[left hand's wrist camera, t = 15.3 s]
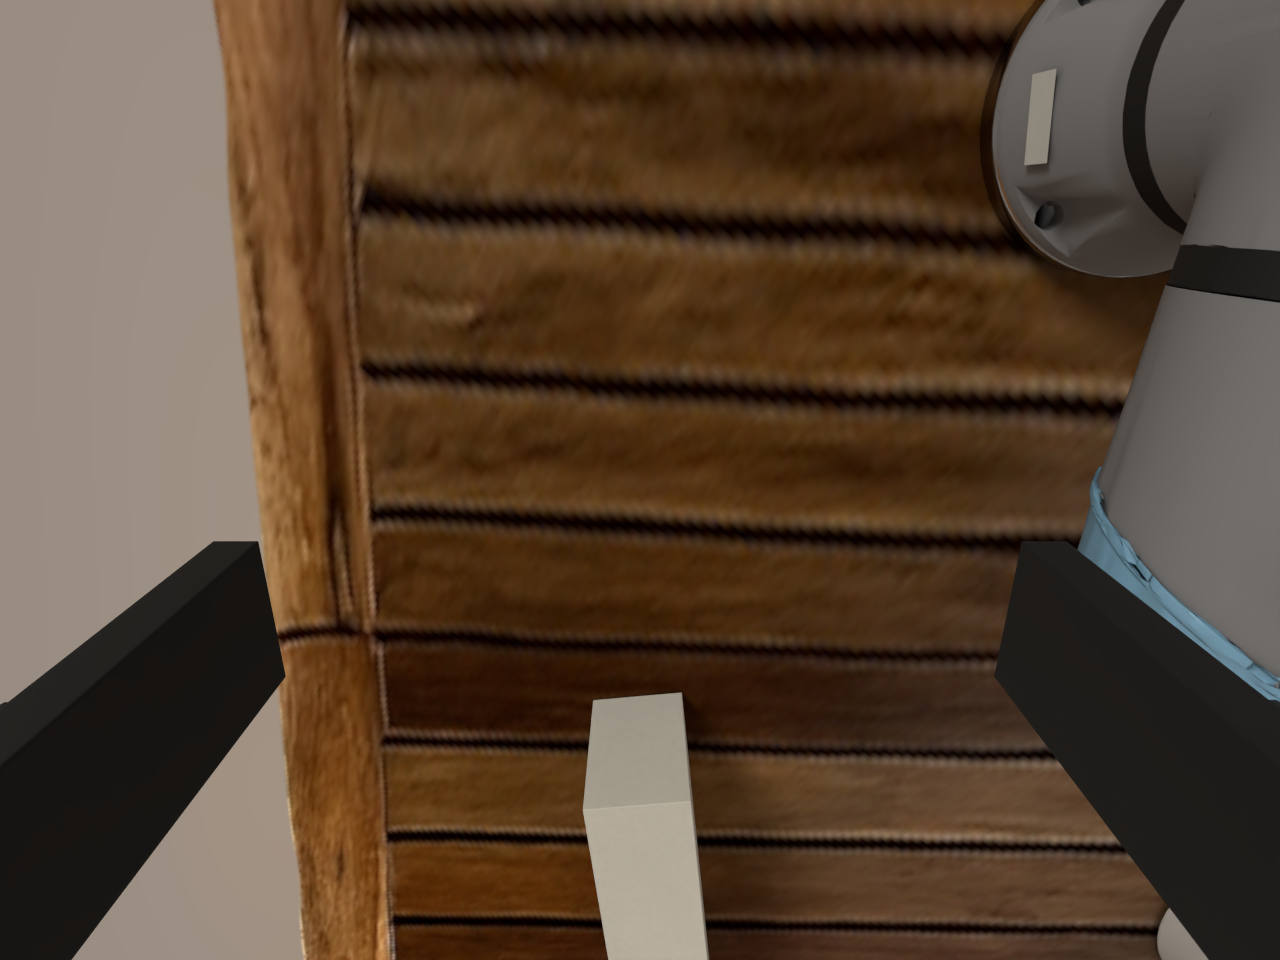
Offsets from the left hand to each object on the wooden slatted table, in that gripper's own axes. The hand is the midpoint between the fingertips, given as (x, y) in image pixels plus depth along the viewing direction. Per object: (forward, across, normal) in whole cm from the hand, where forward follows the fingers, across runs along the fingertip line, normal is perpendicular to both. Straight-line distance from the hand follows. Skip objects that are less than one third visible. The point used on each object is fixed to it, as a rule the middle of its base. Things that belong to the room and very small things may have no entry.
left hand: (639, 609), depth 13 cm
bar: (+29, +1, -36) cm, 46 cm away
